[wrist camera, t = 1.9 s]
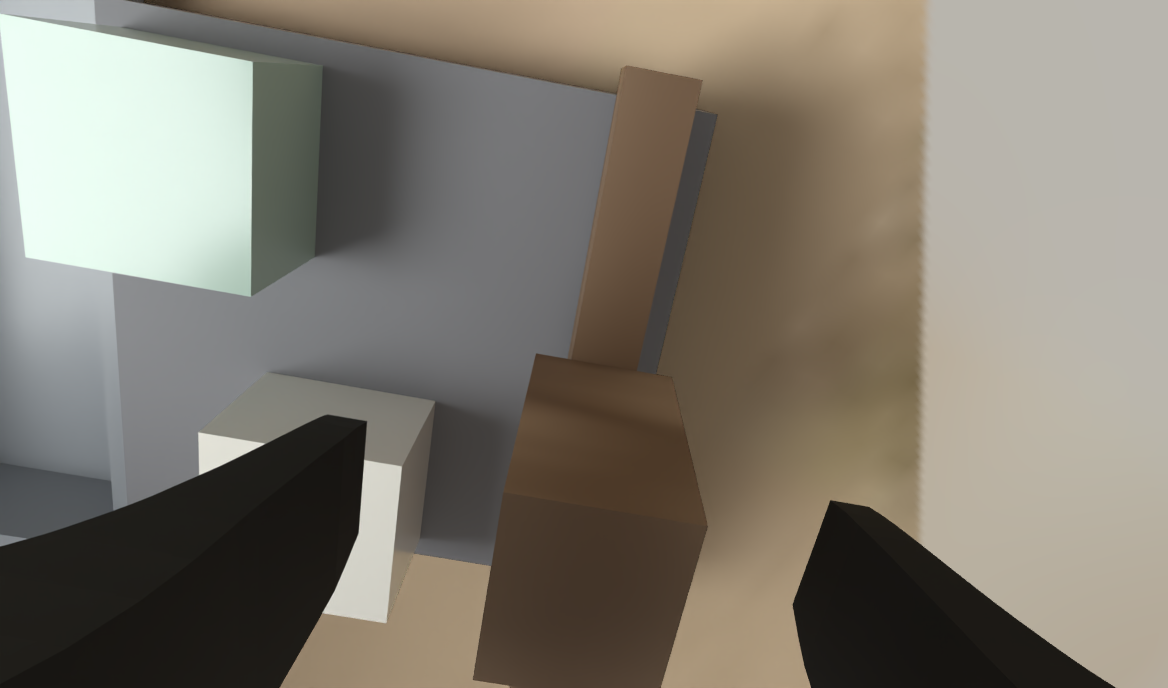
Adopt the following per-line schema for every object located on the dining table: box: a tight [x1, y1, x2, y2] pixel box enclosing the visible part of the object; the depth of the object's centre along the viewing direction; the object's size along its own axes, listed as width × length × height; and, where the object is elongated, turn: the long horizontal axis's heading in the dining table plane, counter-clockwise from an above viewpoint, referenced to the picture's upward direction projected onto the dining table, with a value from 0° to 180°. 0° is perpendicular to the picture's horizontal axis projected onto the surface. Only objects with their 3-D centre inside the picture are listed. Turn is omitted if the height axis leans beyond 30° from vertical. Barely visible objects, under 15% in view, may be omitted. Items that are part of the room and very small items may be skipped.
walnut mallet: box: [473, 66, 708, 688], centre depth 12 cm, size 2×13×8 cm, turn 170°
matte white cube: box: [198, 372, 436, 623], centre depth 16 cm, size 4×4×3 cm
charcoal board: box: [94, 0, 717, 566], centre depth 17 cm, size 12×12×2 cm
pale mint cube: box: [0, 14, 323, 297], centre depth 13 cm, size 4×4×3 cm
